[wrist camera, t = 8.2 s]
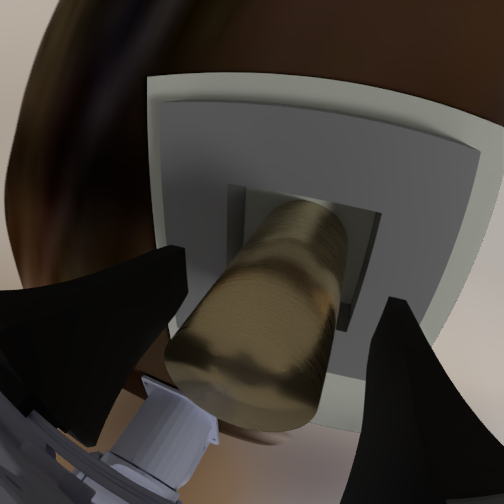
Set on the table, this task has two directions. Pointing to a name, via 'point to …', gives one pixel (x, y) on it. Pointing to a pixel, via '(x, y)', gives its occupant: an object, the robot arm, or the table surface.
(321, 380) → the brass rounded knob
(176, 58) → the table surface
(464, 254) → the socket plate
